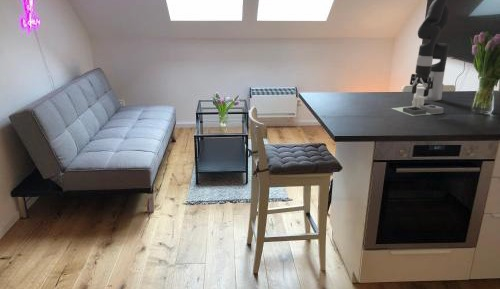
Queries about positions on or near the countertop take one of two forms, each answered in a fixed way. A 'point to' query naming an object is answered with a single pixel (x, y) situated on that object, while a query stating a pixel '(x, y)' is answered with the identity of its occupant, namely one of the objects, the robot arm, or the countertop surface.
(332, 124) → the countertop surface
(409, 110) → the header socket
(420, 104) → the plug
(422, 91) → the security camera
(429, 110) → the circuit board
